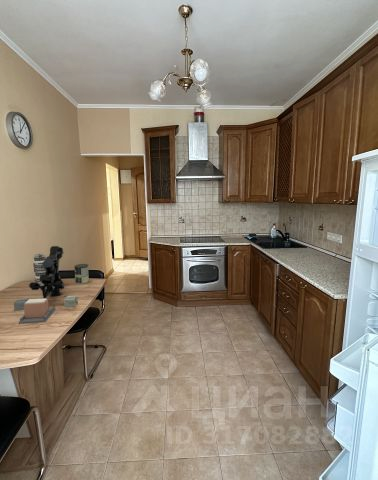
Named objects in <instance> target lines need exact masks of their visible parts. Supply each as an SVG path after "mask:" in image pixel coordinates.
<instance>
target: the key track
mask: <svg viewBox="0 0 378 480" xmlns="http://www.w3.org/2000/svg"><path fill="white" fill-rule="evenodd" d="M55 311H56V308H55V306H52V307H51V308H50V307H49V311H48V312H47V314H46V315H45V316H44V317H36V318H25V313H24V314H23V315H22V316H21V317H20V318H19V321H18V324H19V325H21V324H38V323H46V322H47V321H48V320H49V318H50V317H51V316H52V314H53V313H54V312H55Z"/></svg>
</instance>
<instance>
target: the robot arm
mask: <svg viewBox="0 0 378 480" xmlns="http://www.w3.org/2000/svg"><path fill="white" fill-rule="evenodd" d="M63 255H64V248H63V247H60V246H59V245H52V246H50V248H49V255H47V256H45V257H46V260H45V261H44V262H43V263H42V265H43V267H44V270H45V275H40V281H41V283H43V284H38V282H36V281H33V282H30V283H29V285H28V287H29V288H30V289H31V290H32V291H38V290H40V291H41V292H42V296H43V297H42V299H44V298H48V296H49V297H50V298H51V297H57V296H61V295H62V293H61V290H64V289H65V286H66V285H65V283H64V281H63V280H62V278H61V276H60V273H59V269H60V261H61V260H60V259H62V258H63Z"/></svg>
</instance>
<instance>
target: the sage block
mask: <svg viewBox="0 0 378 480" xmlns="http://www.w3.org/2000/svg"><path fill="white" fill-rule="evenodd" d="M78 301H79V300H78V295H68V296H67V295H66V297H65V298H64V299H63V302H64V303H63V304H64V308H75V307H76V306H77V305H78Z"/></svg>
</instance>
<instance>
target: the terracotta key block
mask: <svg viewBox="0 0 378 480" xmlns="http://www.w3.org/2000/svg"><path fill="white" fill-rule="evenodd" d="M49 308H50V307H49V299H48V297H46V298H29V300H28V301H27V302H25V304H24V310H23V311H24V314H25V318H36V317H44V316H45V315H46V314H47V312H48V311H49Z"/></svg>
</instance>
